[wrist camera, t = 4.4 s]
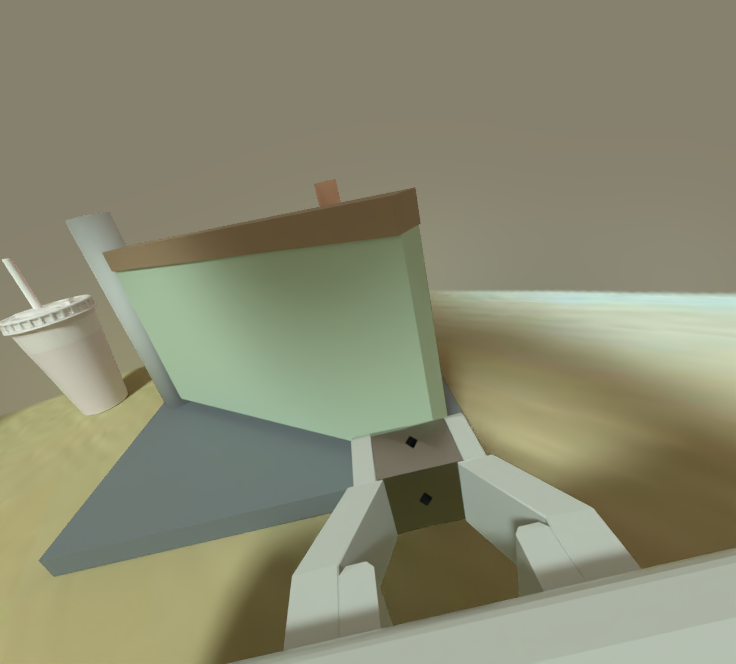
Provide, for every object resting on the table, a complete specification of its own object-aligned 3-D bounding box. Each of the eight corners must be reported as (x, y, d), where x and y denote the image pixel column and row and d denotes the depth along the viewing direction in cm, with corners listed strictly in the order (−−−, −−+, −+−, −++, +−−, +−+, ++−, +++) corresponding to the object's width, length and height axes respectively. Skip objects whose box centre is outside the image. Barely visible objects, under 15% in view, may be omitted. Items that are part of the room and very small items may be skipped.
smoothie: (87, 395, 35) (-1, 260, 29) (153, 376, 36) (79, 241, 30) (49, 435, 29) (-71, 275, 23) (128, 411, 30) (31, 251, 24)
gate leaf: (179, 399, 25) (101, 252, 21) (200, 385, 27) (131, 245, 22) (439, 465, 15) (391, 195, 10) (451, 437, 16) (415, 187, 12)
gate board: (53, 576, 16) (-243, 261, 10) (216, 351, 38) (153, 210, 32) (489, 476, 16) (452, 97, 10) (400, 308, 38) (372, 158, 32)
